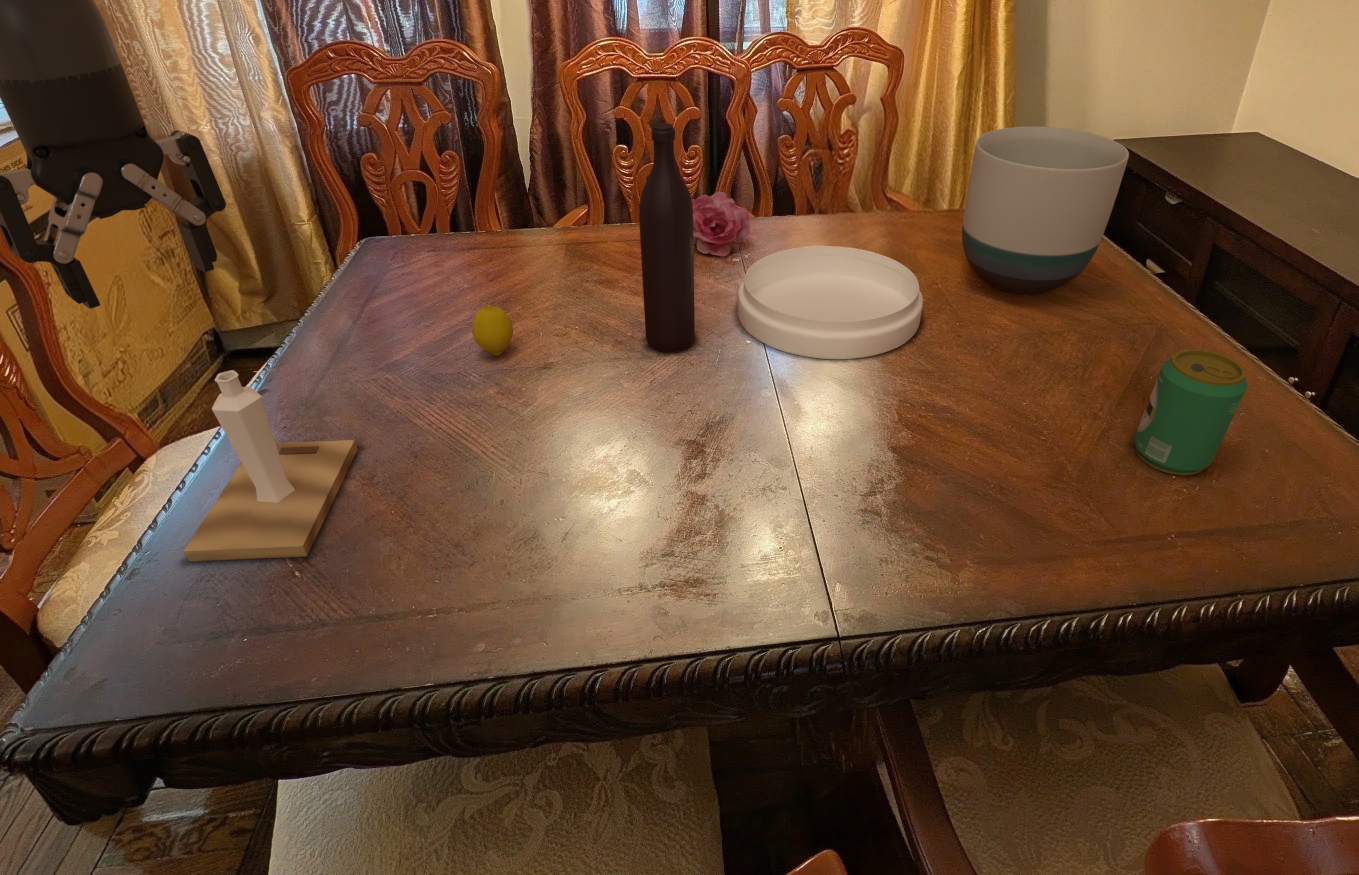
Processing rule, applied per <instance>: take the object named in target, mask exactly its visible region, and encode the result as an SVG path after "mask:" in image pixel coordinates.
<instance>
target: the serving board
mask: <svg viewBox="0 0 1359 875" xmlns="http://www.w3.org/2000/svg"><path fill="white" fill-rule="evenodd" d="M276 445H277V449H278V452H279V455H280V458H281V462H282V465H283V468H284V471H285V474H286V478H287V479H288V481H289V482H290V483H291V484H292V486H293V487H294V488H295V490H294V491H293V492H292V493H290V494H289V495H288V496H286V497H285V498H284V499H282V500H281V501H280V502H278V503H272V502H259V501H257V494H256V487H255V485H254V484H253V482H252V480H251V478H250V477H249V475H248V473H247V471H246V469H245V468H244V466H243V464H242V462H241V461H240V462H241V463H240V464H239V465H238V467H237V468H236V470H235V472H234V473H233V475H232V476H231V477H230V479H229V481H228V482H227V484H226V485H225V486H224V488H223V490H222V491H221V492H220V495H219V496H218V497H217V499H216V500H215V502H214V503H213V505H212V507H211V508H210V510H209V511H208V513H207V514H206V516H205V517H204V519H203V521H202V522H201V524H200V525H199V527H198V528H197V530H196V532H195V533H194V534H193V535H192V537H191V539H189V540H190V541H189V542H188V543H187V544H186V546H185V547H184V549H183V553H184V555H185V557H186V558H187V560H188V562H208V561H233V560H253V559H277V558H278V559H279V558H299V557H300V558H301V557H308V555H309V553H310V551H311V549H312V547H313V544H314V543H315V540H316V538H317V537H318V534H319V532H320V530H321V528H322V526H323V524H324V522H325V519H326V517H327V515H328V514H329V511H330V509H331V507H332V504H333V503H334V501H335V498H336V497H337V494H338V492H339V490H340V488H341V486H342V484H343V482H344V480H345V477H346V475H347V473H348V471H349V469H350V467H351V465H352V463H353V461H354V459H355V456H356V454H357V452H358V445H357V443H356V440H355V439H344V440H321V441H320V440H319V441H318V440H317V441H316V440H315V441H295V442H291V441H290V442H276Z"/></svg>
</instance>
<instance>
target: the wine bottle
mask: <svg viewBox="0 0 1359 875" xmlns="http://www.w3.org/2000/svg"><path fill="white" fill-rule="evenodd" d="M650 133H651V141H653V162H652V167H651V170H650V172H649V174H648V177H647V179H646V180H645V183H644V186H643V187H642V191H641V193H640V198H639V205H638V211H639V212H638V221H639V223H638V224H639V240H640V255H641V256H640V258H641V275H642V277H641V278H642V293H643V294H642V295H643V311H644V325H645V326H644V328H645V329H644V330H645V340H646V343H647V345H648V347H649V348H650V349H652V350H654V351H657V352H661V353H678V352H682V351H685V350H687V349H689V348H691V347H692V346H693V344H694V342H695V340H696V317H695V314H696V312H695V247H694V237H693V206H692V200H693V199H692V196H691V193H690V190H689V188H688V186H687V183H686V182H685V180H684V178H683V176H682V175H681V172H680V170H679V168H678V166H677V164H676V158H675V157H676V156H675V144H674V142H675V140H676V129H675V128H674V124H672V123H668V122H659V123H656V124H653V125H652V129H651V132H650Z"/></svg>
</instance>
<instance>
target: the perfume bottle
mask: <svg viewBox="0 0 1359 875" xmlns="http://www.w3.org/2000/svg"><path fill="white" fill-rule="evenodd" d="M214 382H215V383H216V384H217V385H218V388H219V390H220V392H221V393H219V394H218V396H217V397H216V400H215V401H214V403H213V405H212V407H211V410H212V413H213V414H214V416H215V418H216V420H217V422H218V424H219V425H220V427H221V429H222V430H223V432H224V434H225V436H226V437H227V439H228V441H229V443H230V444H231V446H232V448H233V450H234V452H235V453H236V455H237V457H238V459H239V461H240V462H242V464H243V466H244V468H245V469H246V471H247V473H248V475H249V477H250V478H251V480H252V482H253V484H254V485H255V487H256V494H257V501H259V502H272V503H278V502H280V501H281V500H282V499H284V498H285V497H286V496H288V495H289V494H290V493H292V492H293V491H294V490H295V488H294V487H293V486H292V484H291V483H290V482H289V481H288V479H287V478H286V474H285V471H284V468H283V465H282V462H281V458H280V455H279V452H278V449H277V445H276V443H277V442H276V439H275V436H274V433H273V429H272V426H271V422H270V419H269V417H268V413H267V409H266V406H265V404H264V400H263V396H262V395H261V394H260V393H259V392H257V390H255V389H254V388H253V387H251V386H242V383H241V381H240V379H239V373H237V371H235V370H233V369H232V370H227V371H224V372H220V373H218V374H217V375H216V377H215V379H214Z"/></svg>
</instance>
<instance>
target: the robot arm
mask: <svg viewBox="0 0 1359 875" xmlns="http://www.w3.org/2000/svg"><path fill="white" fill-rule="evenodd" d="M0 101H1V102H2V105H3V107H4V109H5V111H6V113H7V116H8V117H9V120H10V121H11V122H10V123H11V124H12V126H13V128H14V130H15V133H16V134H17V136H18V138H19V140H20V143H21V145H22V148H23V149H24V151H25V154H26V165H25V168H19V169H12V170H6V171H5V170H4V171H0V231H1V233H2V236H3V238H4V240H5V243H6V245H7V247H8V249H9V251H10V252H11V253H12V254H13V255H15V256H17V257H18V258H19V259H21V260H22V261H23V262H25V263H29V264H35V263H38V262H40V263H41V262H42V263H49V264H50V265H51V267H52V269H53V271H54V273H55V275H56V277H57V278H58V281H59V284H60V285H61V286H62V289H63V291H64V292H65V295H67V296H68V297H69V298H70V299H71V300H73V301H74V302H75V303H77V304H78V305H80V304H82V305H83V306H85V307H86V308H87V309H89V310H92V309H94V308H98V307H100V306H101V302H100V300H99V298H98V296H97V294H96V292H95V290H94V288H93V286H92V283H91V281H90V279H89V277H88V275H87V273H86V271H85V269H84V267H83V265H82V263H81V261H80V260H79V259H78V258H77V257H75V255H76V252H77V250H78V246H79V242H80V239H81V238H82V236H83V235H85V233H86V230H87V228H88V224H89V222H90V220H91V219H90V218H98V219H99V220H103V219H107V218H110V217H114V216H115V215H117V214H119V213H120V212H123V211H137V210H141V209H145V208H146V205H147V204H148V203H149V202H151V200H152V201H153V202H154V203H157V204H158V205H160V206H162V207H163V208H165V209H166V210H167V211H170V212H171V214H174V215H175V216H176V217H178V218H179V219H180V221H181V222H179V223H177V225H178V228H179V230H180V232H181V235H182V238H183V241H184V243H185V245H186V248H187V250H188V253H189V255H190V258H191V261H192V263H193V265H194V267H195V268H196V269H197V270H199V271H201V272H203V273H208V272H211V271H213V270H215V266H214V263H215V262H217V261H218V260H217V259H218V253H217V251H216V248H215V245H214V243H213V239H212V237H211V235H210V232H209V228H208V226H207V222H208V219H209V218H210V217H211V216H212V215H214V214H215V213H216V212H217V213H219V212H223V211H224V210H226V207H227V203H226V200H225V197H224V195H223V193H222V190H221V188H220V185H219V183H218V180H217V178H216V176H215V173H214V171H213V169H212V166H211V164H210V162H209V159H208V157H207V154H206V151H205V150H204V147H203V144H202V142H201V140H200V139H199V137H198V136H196V135H194V134H192V133H189V132H186V131H182V130H173V131H172V132H171V133H170V135H169V136H167V137H163V138H160V139H154V138H152V136H151V135H150V134H149V131H148V130H147V127H146V124H145V121H144V118H143V116H142V113H141V110H140V108H139V105H138V103H137V101H136V98H135V95H134V93H133V91H132V88H131V85H130V82H129V80H128V77H127V74H126V72H125V69H124V67H123V63H122V61H121V59H120V57H119V53H118V51H117V49H116V46H115V44H114V41H113V38H112V35H111V33H110V31H109V27H108V25H107V24H106V21H105V19H104V16H103V14H102V13H101V11H100V9H99V7H98V6H97V3H96V2H95V0H0ZM165 156H167V157H168V158H169V159H170V161H171V162H173V163H174V164H176V165H179V166H181V167H182V170H183V172H184V174H185V176H186V179H187V181H188V183H189V186H190V188H191V190H192V192H193V194H194V198H192V199H191V200H190V201H187V200H186V199H185V198H184V197H183V196H181V195H179V194H178V193H177V192H176V191H174V190H172V189H171V188H169V187H168V186H167V185H165V184H163V183H162V182H161V181H159V180H158V178H159V176H160V172H161V171H162V170H161V169H162V166H163V164H164V157H165ZM34 185H35V186H37V187H38V188H40V189H41V190H42V191H45V193H48V194H49V195H51V196H52V197H53V201H52V204H51V207H50V210H49V212H48V213H49V214H48V219H47V220H48V225H47V228H46V231H45V234H44V238H43V240H41V239H36V238H35V235H34V233H33V230H32V228H31V226H30V224H29V221H28V219H27V217H26V214H25V211H24V210H23V207H22V206H23V205H25V204H26V203H28V201H29V199H30V198H29V197H30V196H29V189H30V187H32V186H34Z"/></svg>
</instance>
